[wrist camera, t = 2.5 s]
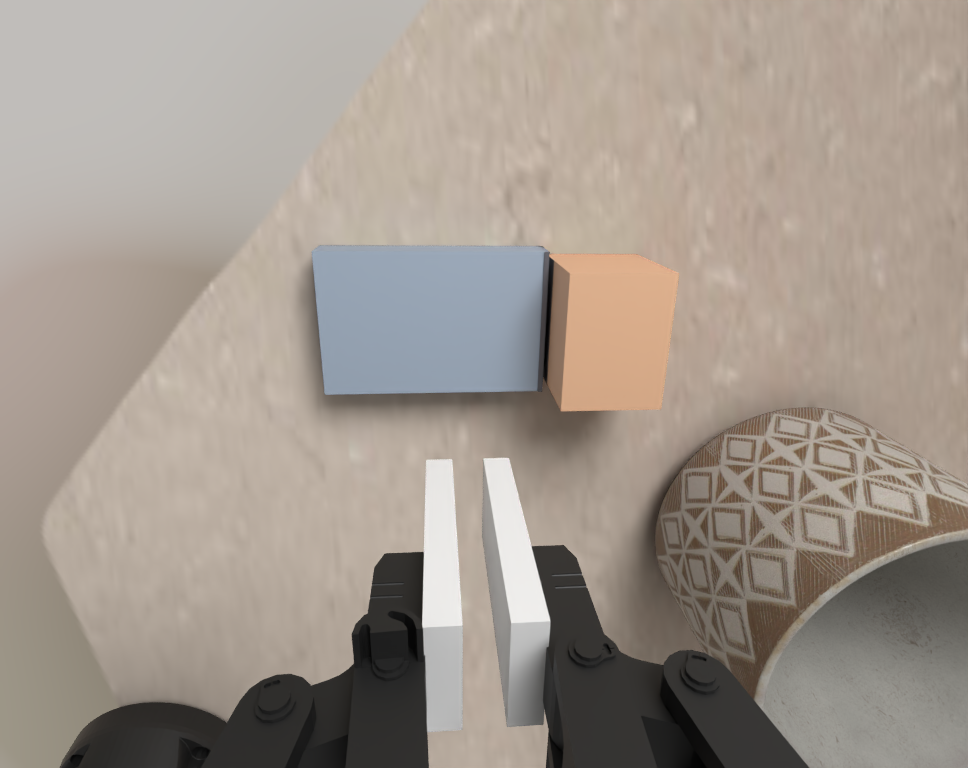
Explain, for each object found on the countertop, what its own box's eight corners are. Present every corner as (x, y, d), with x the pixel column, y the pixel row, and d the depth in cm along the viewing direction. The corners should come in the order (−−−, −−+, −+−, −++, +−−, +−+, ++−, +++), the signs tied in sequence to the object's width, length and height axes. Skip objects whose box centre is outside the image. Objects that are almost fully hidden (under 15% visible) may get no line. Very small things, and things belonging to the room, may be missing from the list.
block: (540, 370, 40) (560, 411, 34) (546, 254, 37) (570, 273, 31) (624, 369, 41) (660, 409, 34) (636, 254, 38) (679, 273, 31)
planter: (659, 628, 50) (760, 836, 34) (632, 431, 42) (744, 582, 27) (879, 576, 49) (1079, 762, 34) (888, 370, 42) (1145, 488, 27)
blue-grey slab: (331, 380, 39) (324, 395, 37) (319, 245, 36) (311, 251, 34) (535, 377, 40) (542, 391, 38) (542, 246, 37) (549, 252, 35)
